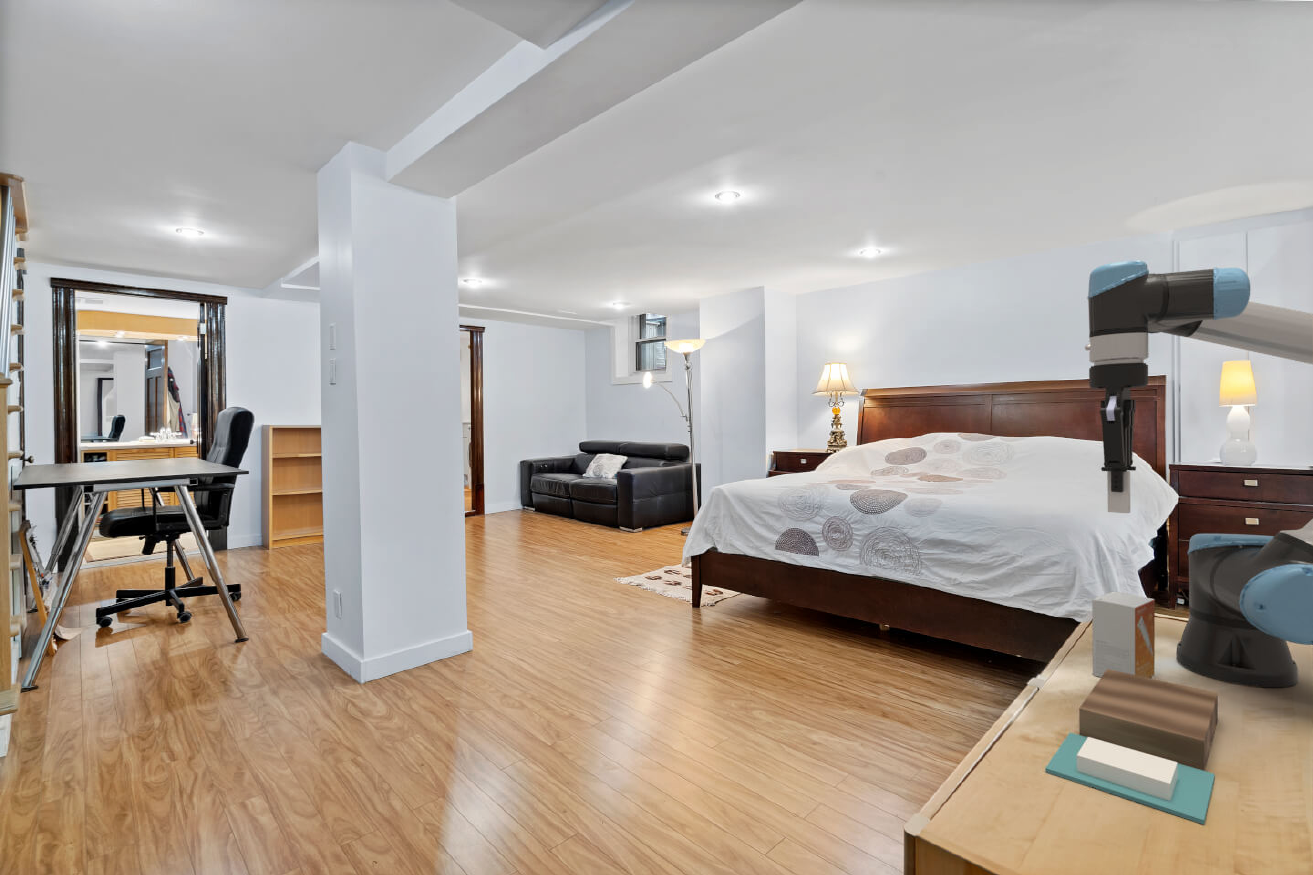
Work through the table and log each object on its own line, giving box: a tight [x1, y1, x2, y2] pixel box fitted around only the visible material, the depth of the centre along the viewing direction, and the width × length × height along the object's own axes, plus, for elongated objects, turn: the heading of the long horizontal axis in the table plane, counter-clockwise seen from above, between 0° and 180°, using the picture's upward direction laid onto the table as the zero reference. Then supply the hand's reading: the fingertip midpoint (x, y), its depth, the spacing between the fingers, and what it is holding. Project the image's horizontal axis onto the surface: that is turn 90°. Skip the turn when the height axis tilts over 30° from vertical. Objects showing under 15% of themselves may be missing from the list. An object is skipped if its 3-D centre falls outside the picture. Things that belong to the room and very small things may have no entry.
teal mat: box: [1044, 732, 1216, 825], centre depth 78 cm, size 12×15×1 cm
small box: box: [1091, 590, 1156, 678], centre depth 106 cm, size 8×6×13 cm
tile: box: [1077, 737, 1178, 801], centre depth 77 cm, size 6×9×2 cm, turn 44°
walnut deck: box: [1078, 669, 1219, 771], centre depth 88 cm, size 18×13×4 cm
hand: (1118, 511), depth 100 cm, fingers closed
